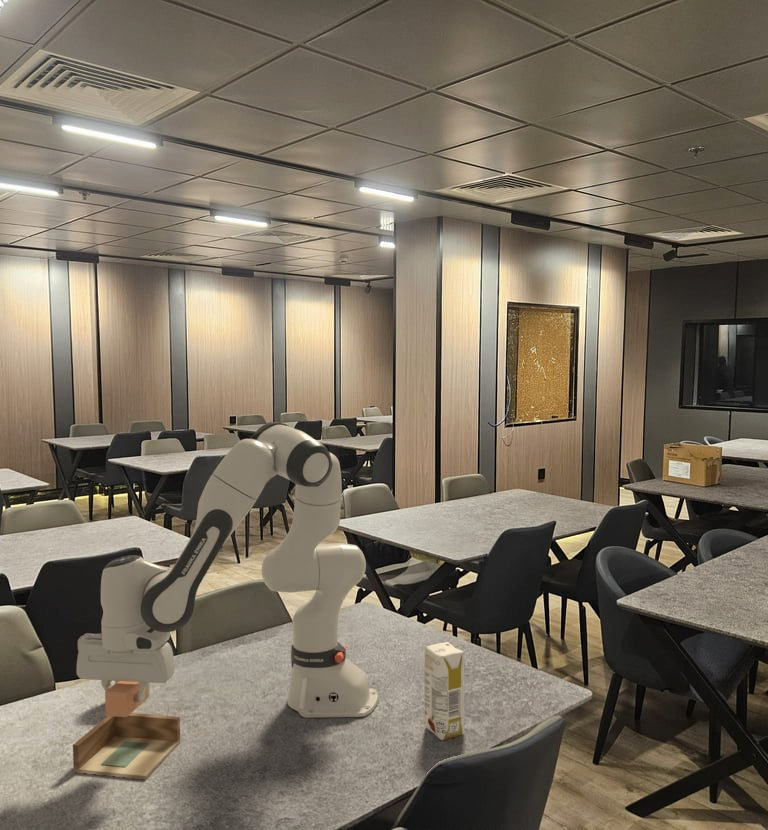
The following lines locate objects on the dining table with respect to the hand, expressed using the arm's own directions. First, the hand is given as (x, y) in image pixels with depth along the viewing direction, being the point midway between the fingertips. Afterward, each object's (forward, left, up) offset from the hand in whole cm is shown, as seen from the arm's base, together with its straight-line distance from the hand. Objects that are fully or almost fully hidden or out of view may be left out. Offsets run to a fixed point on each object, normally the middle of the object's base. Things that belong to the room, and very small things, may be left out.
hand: (126, 700), depth 151 cm
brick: (0, 0, -2) cm, 2 cm away
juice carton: (-64, -24, -14) cm, 70 cm away
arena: (+1, -2, -13) cm, 13 cm away
